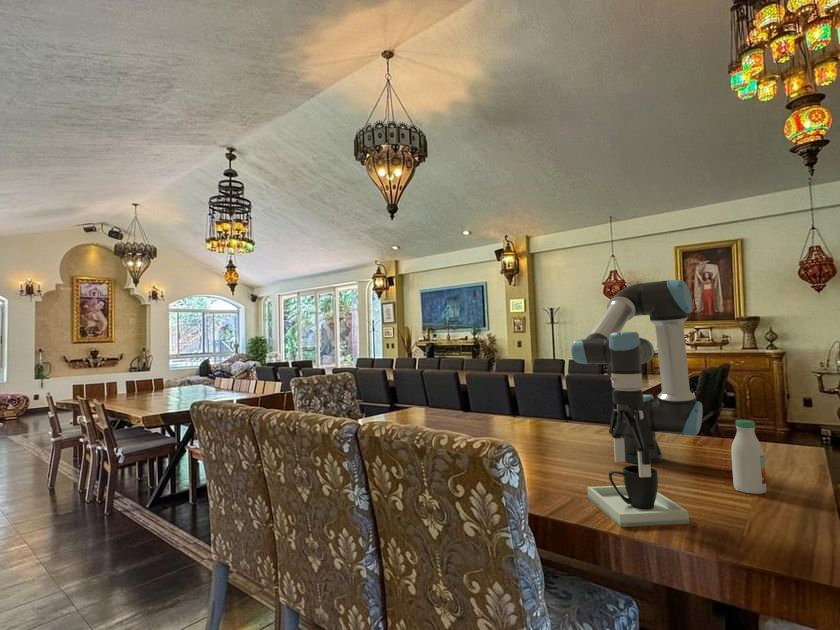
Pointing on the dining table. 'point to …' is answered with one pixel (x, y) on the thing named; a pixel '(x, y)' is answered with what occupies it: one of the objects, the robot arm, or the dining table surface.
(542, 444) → the dining table surface
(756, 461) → the milk bottle
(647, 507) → the mug
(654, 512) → the tray
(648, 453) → the robot arm
